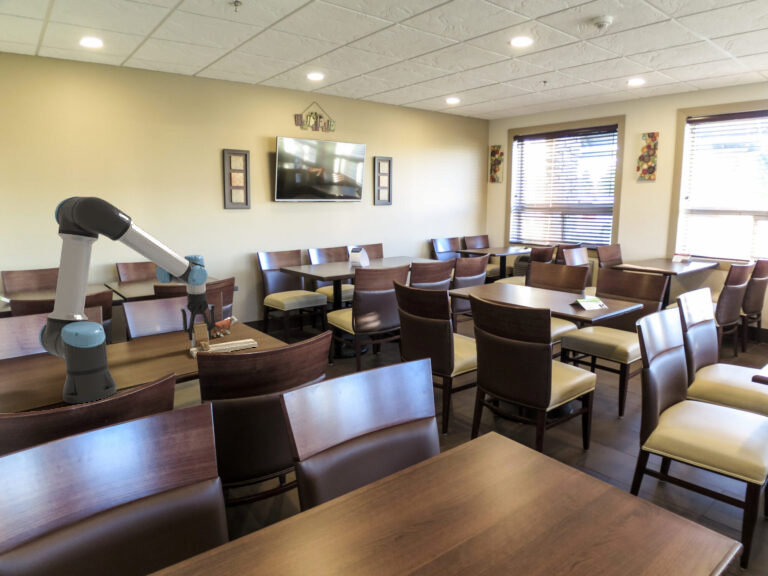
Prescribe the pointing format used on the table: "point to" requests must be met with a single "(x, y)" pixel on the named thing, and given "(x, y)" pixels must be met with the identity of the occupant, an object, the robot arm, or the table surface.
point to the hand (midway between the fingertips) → (200, 346)
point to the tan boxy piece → (201, 335)
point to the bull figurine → (224, 325)
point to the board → (226, 347)
